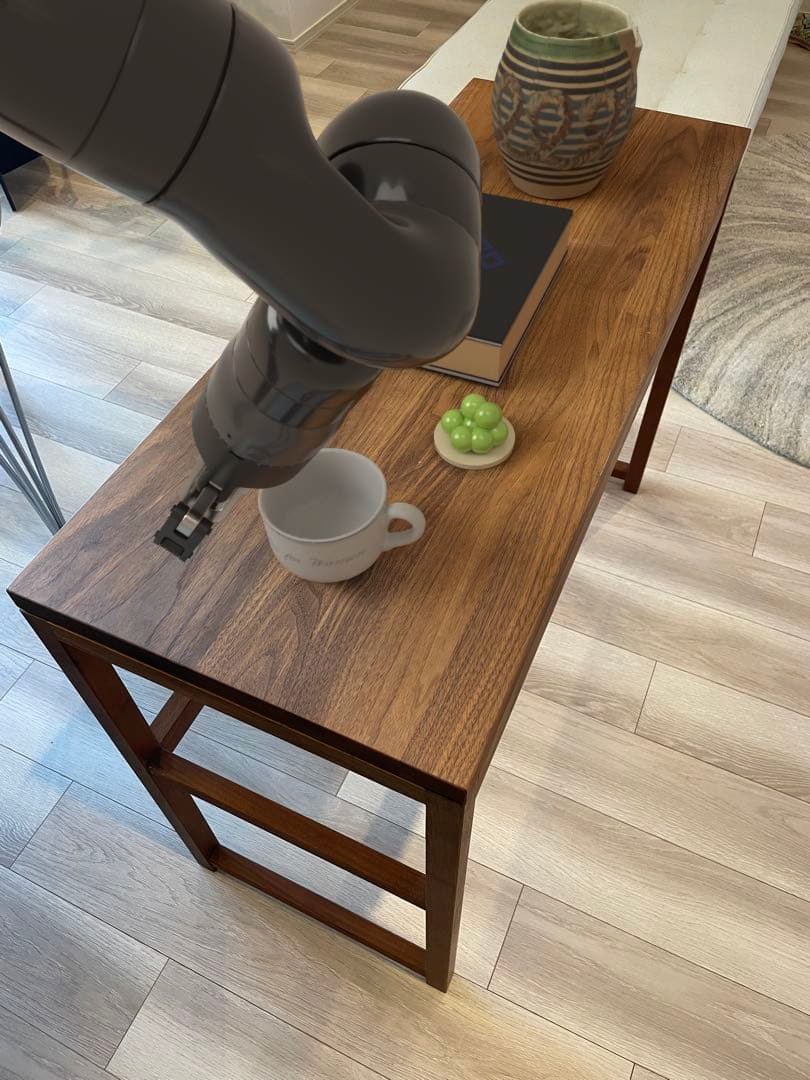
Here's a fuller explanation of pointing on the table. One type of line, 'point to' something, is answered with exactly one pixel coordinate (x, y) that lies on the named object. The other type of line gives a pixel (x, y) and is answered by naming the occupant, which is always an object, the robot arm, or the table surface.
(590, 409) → the table surface
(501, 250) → the book
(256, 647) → the table surface
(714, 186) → the table surface
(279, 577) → the table surface
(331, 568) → the teacup
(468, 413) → the grapes
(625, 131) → the pottery
